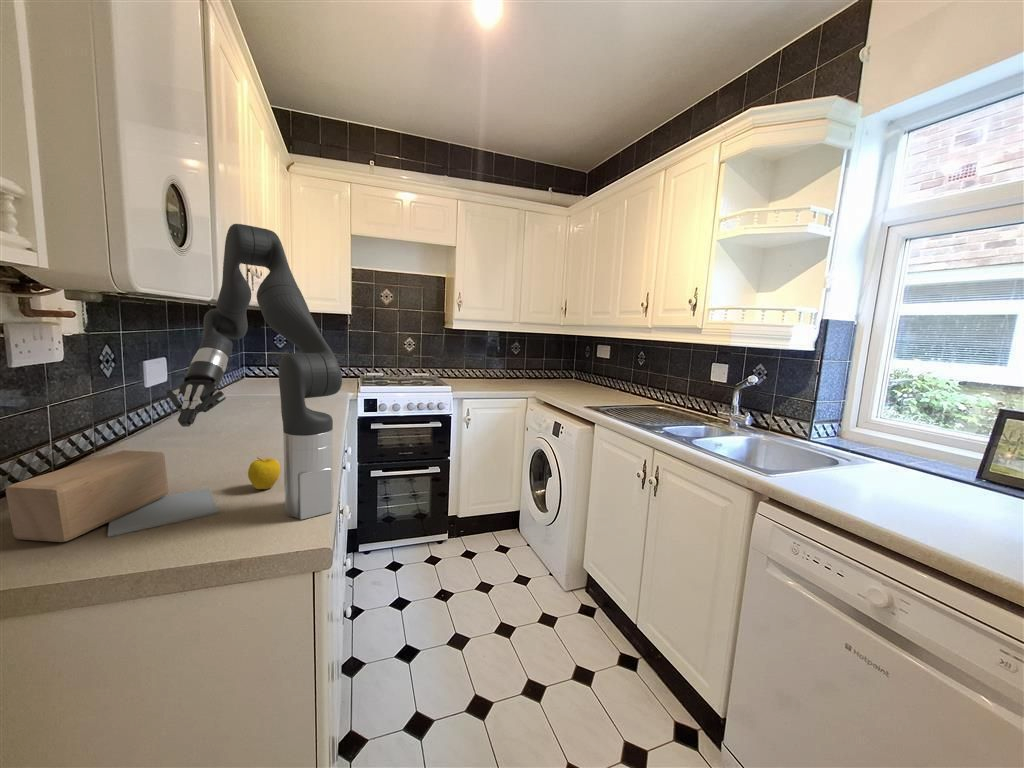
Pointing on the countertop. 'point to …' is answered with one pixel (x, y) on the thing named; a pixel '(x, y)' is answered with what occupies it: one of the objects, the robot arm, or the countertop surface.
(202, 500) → the mat
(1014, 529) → the countertop surface
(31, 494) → the block
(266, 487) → the apple
